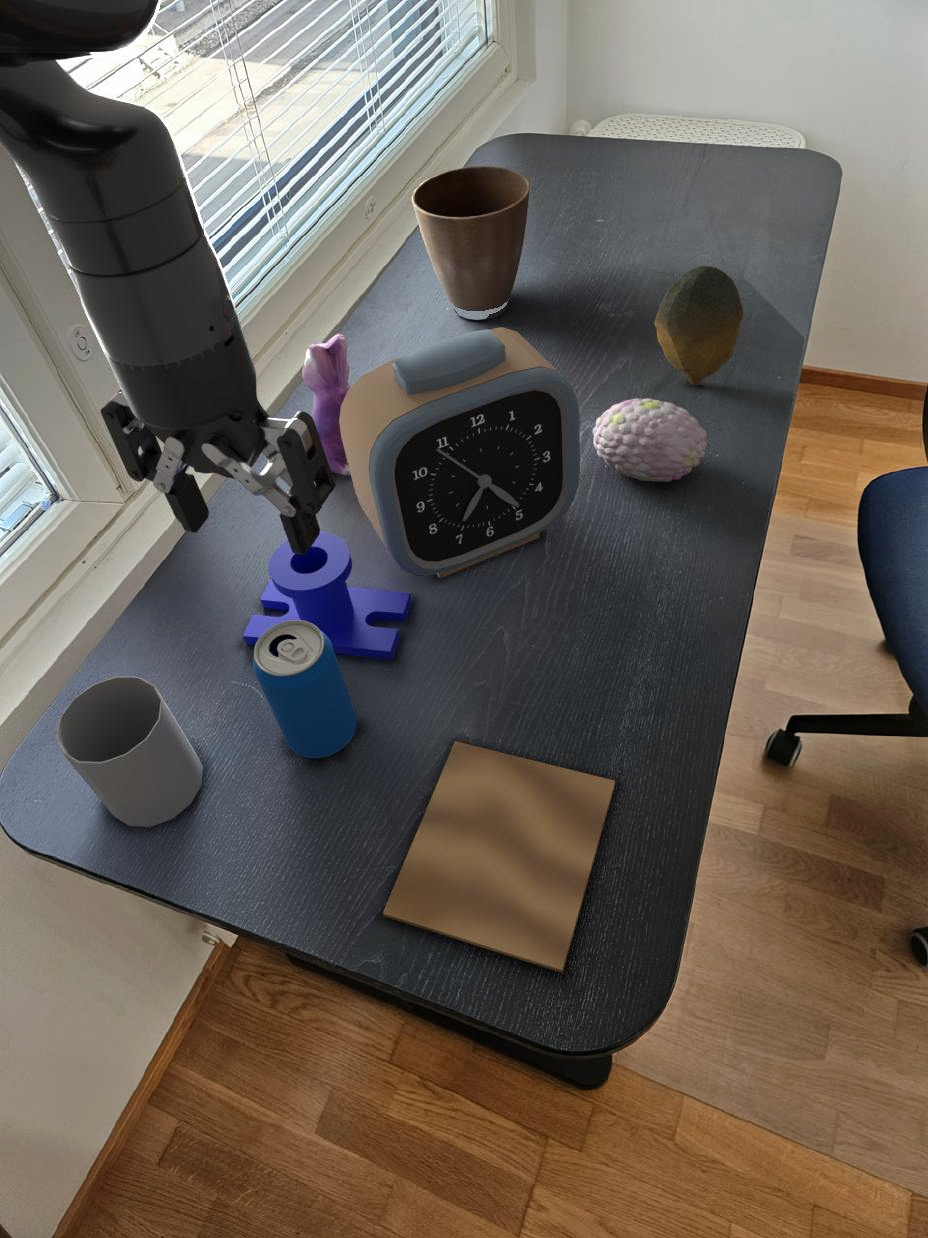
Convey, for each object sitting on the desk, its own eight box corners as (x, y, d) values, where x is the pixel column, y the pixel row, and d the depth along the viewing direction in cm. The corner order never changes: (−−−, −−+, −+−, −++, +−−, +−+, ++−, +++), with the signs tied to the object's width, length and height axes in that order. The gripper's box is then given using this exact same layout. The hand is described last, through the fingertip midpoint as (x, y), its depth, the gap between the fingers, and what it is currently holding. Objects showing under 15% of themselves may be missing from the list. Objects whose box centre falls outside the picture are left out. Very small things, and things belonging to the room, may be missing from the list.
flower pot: (445, 276, 130) (431, 163, 118) (545, 281, 127) (541, 165, 115) (414, 332, 121) (396, 216, 109) (521, 339, 118) (513, 219, 106)
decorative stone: (735, 373, 108) (752, 254, 96) (730, 403, 104) (747, 283, 93) (655, 367, 110) (662, 251, 99) (647, 396, 107) (654, 278, 95)
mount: (246, 643, 87) (218, 582, 80) (272, 588, 92) (248, 526, 85) (392, 659, 84) (375, 597, 77) (412, 601, 89) (398, 537, 82)
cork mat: (562, 973, 63) (562, 970, 63) (383, 916, 67) (382, 913, 67) (615, 784, 73) (615, 780, 72) (455, 744, 77) (455, 740, 76)
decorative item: (705, 472, 89) (660, 382, 88) (613, 513, 96) (569, 431, 94) (726, 448, 96) (685, 364, 95) (639, 488, 103) (599, 411, 101)
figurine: (335, 418, 110) (306, 307, 99) (401, 440, 106) (379, 327, 95) (286, 463, 105) (250, 351, 94) (354, 487, 101) (325, 374, 90)
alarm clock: (402, 601, 89) (361, 424, 72) (368, 544, 95) (323, 368, 78) (582, 527, 93) (581, 344, 77) (539, 477, 99) (530, 297, 83)
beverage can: (320, 691, 82) (287, 604, 73) (373, 722, 79) (345, 635, 70) (271, 741, 79) (231, 657, 70) (325, 775, 76) (290, 692, 67)
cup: (170, 727, 81) (128, 659, 74) (221, 778, 77) (182, 712, 70) (90, 788, 78) (37, 724, 70) (139, 846, 74) (88, 783, 66)
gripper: (21, 345, 49) (135, 554, 61) (245, 376, 44) (319, 594, 57) (101, 276, 53) (192, 483, 65) (312, 297, 49) (367, 515, 61)
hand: (251, 534), depth 61 cm, fingers open, 8 cm apart
